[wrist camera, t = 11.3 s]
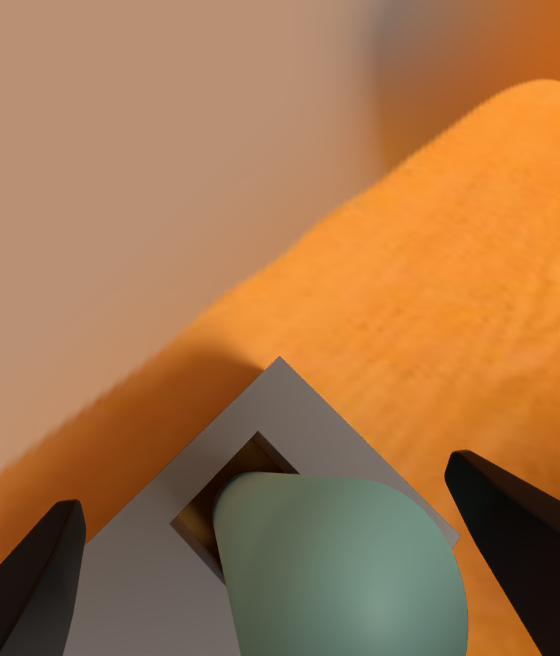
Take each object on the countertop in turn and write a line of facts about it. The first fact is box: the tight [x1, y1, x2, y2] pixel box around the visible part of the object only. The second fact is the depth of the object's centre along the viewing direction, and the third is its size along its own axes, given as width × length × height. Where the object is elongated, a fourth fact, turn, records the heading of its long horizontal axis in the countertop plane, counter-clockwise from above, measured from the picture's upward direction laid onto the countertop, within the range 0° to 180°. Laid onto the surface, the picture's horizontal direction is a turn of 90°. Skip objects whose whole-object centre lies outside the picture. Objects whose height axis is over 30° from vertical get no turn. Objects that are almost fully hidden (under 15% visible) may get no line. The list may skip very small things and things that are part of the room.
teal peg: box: [212, 471, 468, 656], centre depth 11 cm, size 3×3×12 cm
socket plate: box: [63, 356, 461, 656], centre depth 14 cm, size 14×10×3 cm
